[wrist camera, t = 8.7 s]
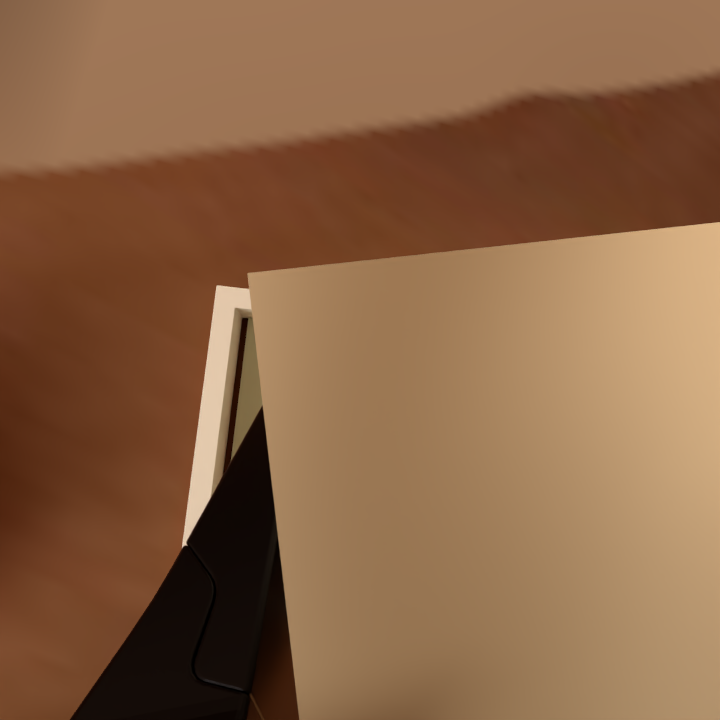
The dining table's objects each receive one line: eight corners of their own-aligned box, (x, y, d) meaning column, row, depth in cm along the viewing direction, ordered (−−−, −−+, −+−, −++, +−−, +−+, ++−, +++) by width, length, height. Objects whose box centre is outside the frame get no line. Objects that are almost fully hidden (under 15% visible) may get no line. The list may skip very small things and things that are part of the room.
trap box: (813, 361, 23) (859, 356, 21) (819, 618, 22) (870, 639, 20) (226, 297, 21) (216, 285, 19) (190, 576, 20) (175, 594, 18)
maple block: (437, 366, 16) (771, 217, 4) (459, 504, 16) (906, 776, 4) (301, 383, 16) (247, 273, 4) (319, 527, 15) (323, 915, 3)
